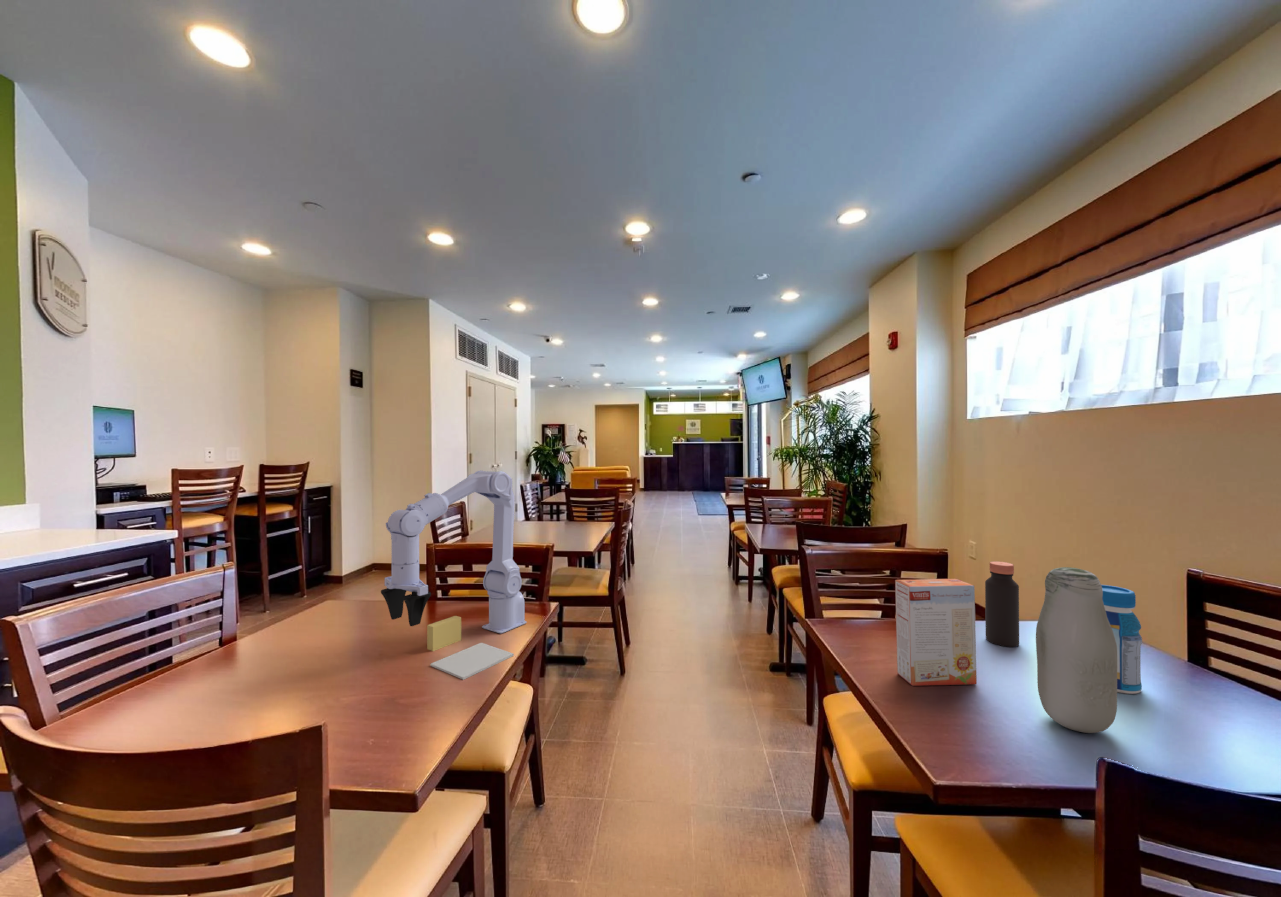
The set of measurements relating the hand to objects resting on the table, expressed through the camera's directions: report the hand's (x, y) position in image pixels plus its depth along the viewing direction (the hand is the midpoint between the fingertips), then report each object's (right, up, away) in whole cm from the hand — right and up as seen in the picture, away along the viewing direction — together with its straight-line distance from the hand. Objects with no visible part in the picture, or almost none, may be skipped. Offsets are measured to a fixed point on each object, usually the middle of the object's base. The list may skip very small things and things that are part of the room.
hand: (405, 621), depth 107 cm
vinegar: (+146, -10, +12) cm, 147 cm away
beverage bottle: (+152, -10, -10) cm, 153 cm away
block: (+4, -10, +12) cm, 16 cm away
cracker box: (+117, -10, -7) cm, 118 cm away
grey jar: (+131, -10, -25) cm, 134 cm away
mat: (+15, -10, +2) cm, 18 cm away
